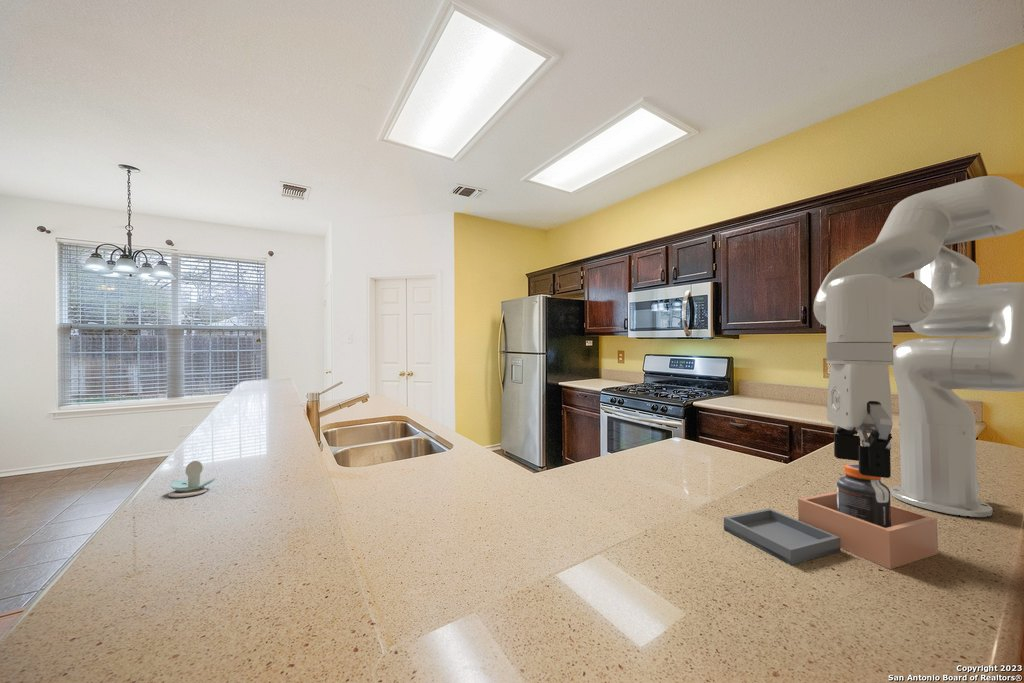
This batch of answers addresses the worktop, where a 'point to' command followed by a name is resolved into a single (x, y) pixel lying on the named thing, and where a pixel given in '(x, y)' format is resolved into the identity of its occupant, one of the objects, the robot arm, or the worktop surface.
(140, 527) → the worktop surface
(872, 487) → the pill bottle
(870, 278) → the robot arm
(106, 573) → the worktop surface
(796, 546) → the charcoal tray
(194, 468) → the pacifier
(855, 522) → the frame
